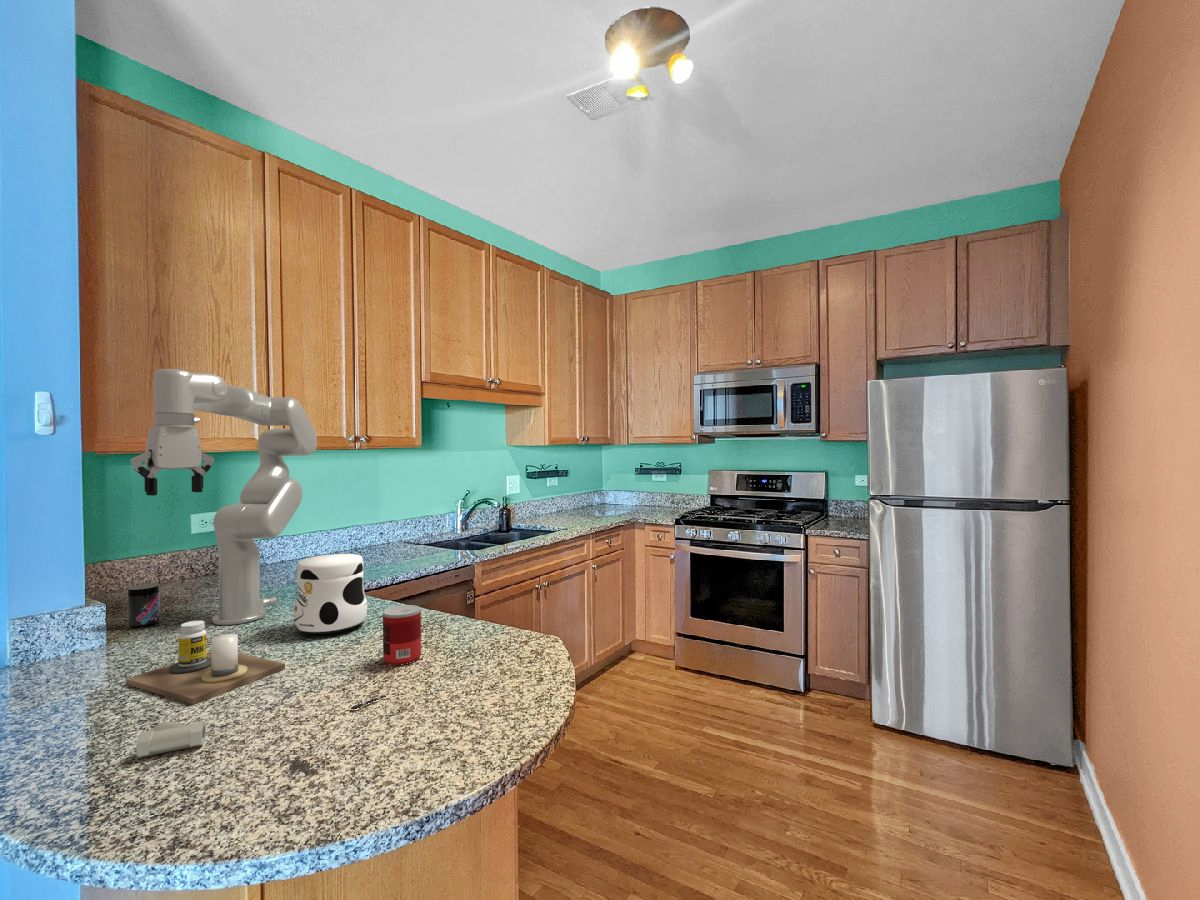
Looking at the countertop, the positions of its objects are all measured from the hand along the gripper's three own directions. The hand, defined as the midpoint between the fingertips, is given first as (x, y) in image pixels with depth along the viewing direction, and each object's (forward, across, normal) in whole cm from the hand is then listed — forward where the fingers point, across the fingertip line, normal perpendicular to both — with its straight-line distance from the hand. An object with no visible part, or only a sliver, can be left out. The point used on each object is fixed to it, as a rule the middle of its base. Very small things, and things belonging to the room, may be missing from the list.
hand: (175, 493), depth 131 cm
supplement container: (+36, -6, -26) cm, 45 cm away
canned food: (+36, -15, +56) cm, 69 cm away
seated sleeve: (+34, +8, +32) cm, 47 cm away
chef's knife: (+37, -2, +68) cm, 78 cm away
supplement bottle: (+35, +8, +20) cm, 41 cm away
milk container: (+37, -24, +23) cm, 49 cm away
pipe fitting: (+37, +26, +49) cm, 67 cm away
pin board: (+36, +8, +26) cm, 45 cm away
